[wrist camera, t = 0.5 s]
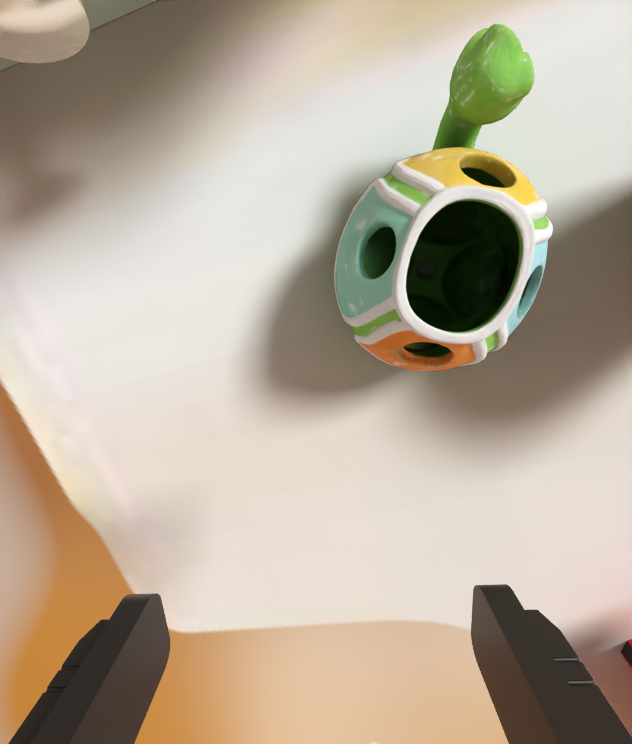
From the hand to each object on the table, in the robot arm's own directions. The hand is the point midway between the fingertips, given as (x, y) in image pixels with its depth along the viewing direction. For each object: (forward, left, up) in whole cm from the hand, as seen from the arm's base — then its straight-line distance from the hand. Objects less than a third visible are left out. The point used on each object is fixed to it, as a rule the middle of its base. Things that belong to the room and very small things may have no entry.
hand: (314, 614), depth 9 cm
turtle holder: (-12, 0, -23) cm, 25 cm away
